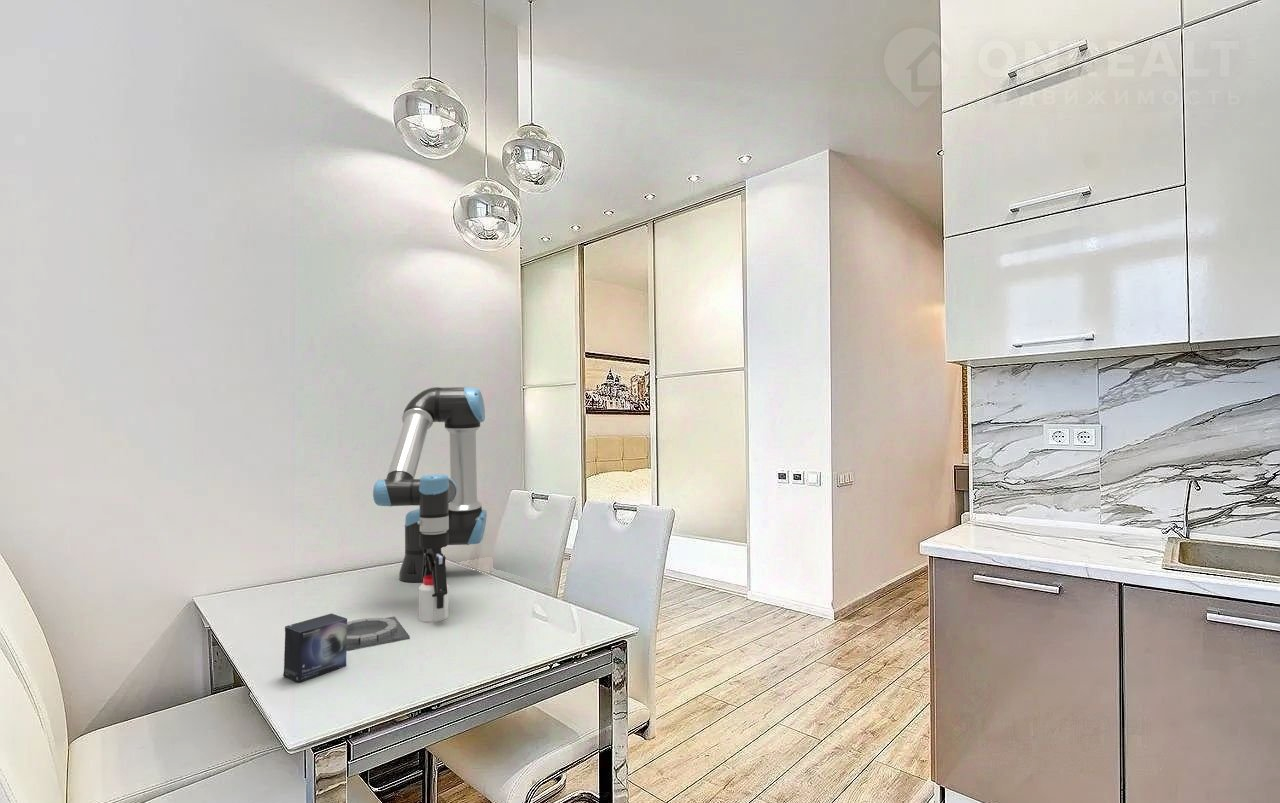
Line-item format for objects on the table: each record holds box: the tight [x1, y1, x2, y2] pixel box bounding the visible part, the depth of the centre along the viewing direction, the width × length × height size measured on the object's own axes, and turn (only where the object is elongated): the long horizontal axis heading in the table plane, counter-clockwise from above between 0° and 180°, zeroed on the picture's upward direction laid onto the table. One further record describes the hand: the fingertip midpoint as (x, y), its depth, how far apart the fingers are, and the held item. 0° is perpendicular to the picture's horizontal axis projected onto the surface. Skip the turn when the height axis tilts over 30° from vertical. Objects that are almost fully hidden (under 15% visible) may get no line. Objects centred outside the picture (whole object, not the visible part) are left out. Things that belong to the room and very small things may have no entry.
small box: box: [282, 613, 348, 683], centre depth 129 cm, size 11×6×10 cm, turn 148°
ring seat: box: [346, 615, 411, 652], centre depth 151 cm, size 18×18×2 cm
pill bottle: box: [418, 575, 450, 623], centre depth 164 cm, size 8×8×11 cm
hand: (433, 614), depth 164 cm, fingers open, 10 cm apart
